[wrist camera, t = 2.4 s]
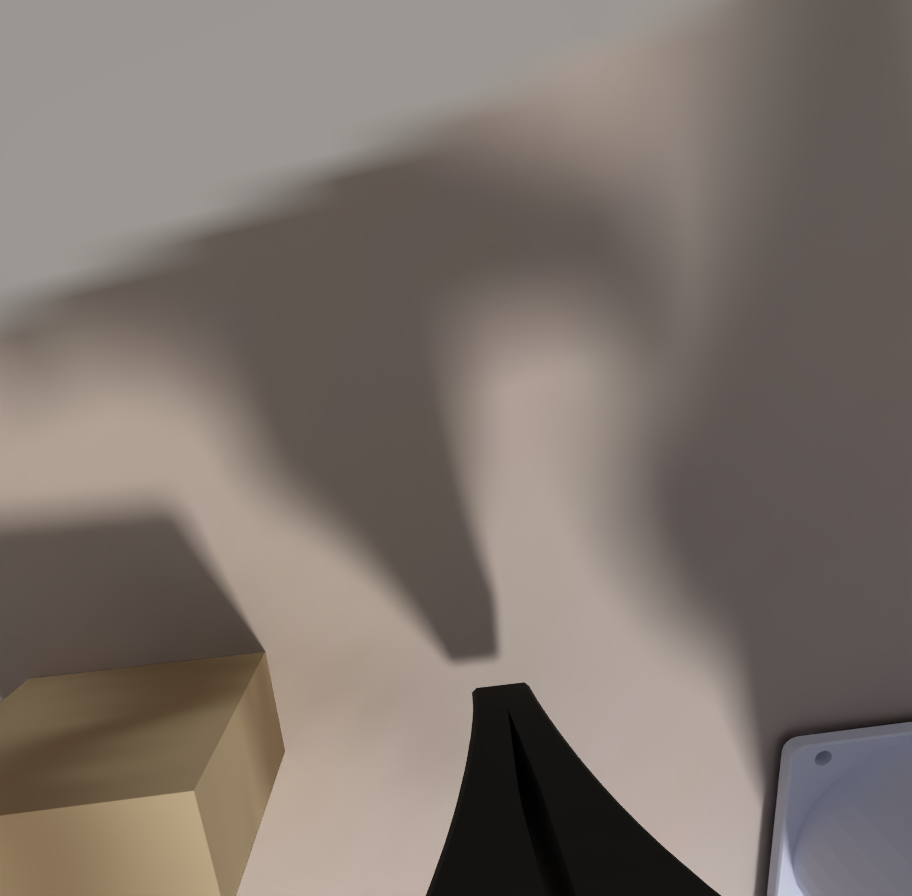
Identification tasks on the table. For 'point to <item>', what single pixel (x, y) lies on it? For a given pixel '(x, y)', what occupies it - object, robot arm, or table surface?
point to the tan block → (137, 778)
